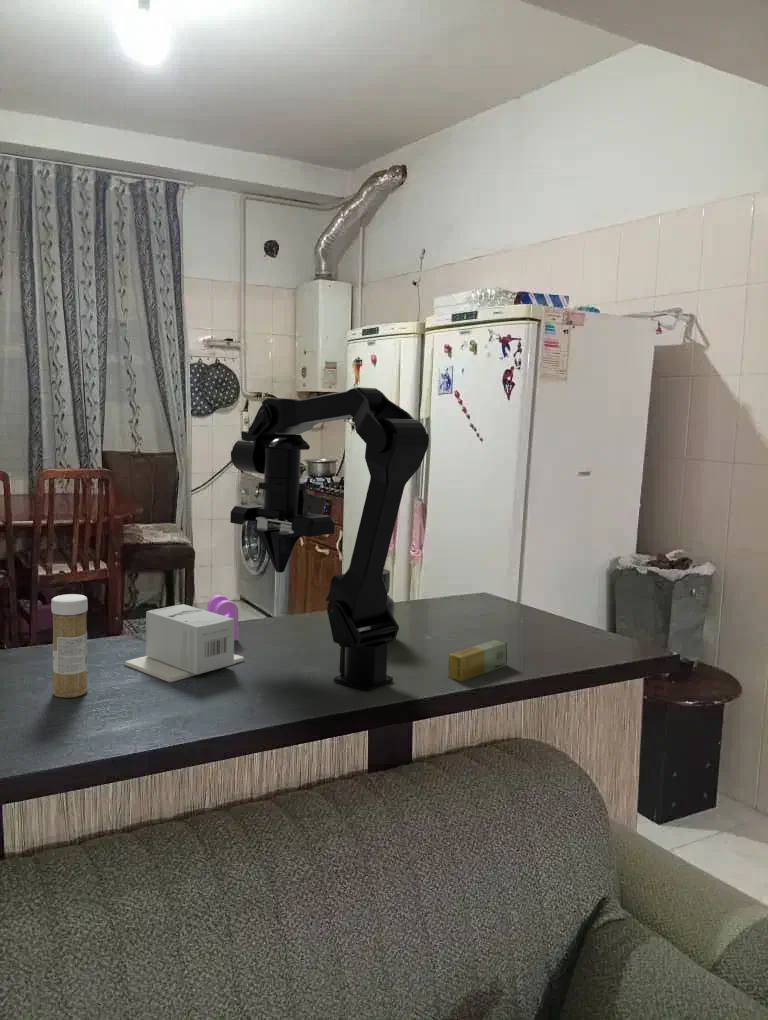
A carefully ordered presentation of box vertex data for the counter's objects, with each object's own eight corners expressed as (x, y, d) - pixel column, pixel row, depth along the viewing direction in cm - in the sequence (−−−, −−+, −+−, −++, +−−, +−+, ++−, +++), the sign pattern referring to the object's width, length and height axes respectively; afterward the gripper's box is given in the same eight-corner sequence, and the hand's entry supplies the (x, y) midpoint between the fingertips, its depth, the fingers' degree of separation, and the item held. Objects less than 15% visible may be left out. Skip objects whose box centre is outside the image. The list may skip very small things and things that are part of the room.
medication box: (494, 662, 132) (495, 638, 132) (507, 666, 131) (508, 642, 130) (447, 678, 124) (447, 652, 123) (460, 682, 122) (461, 656, 121)
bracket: (227, 632, 143) (228, 593, 142) (237, 640, 138) (238, 601, 138) (153, 640, 137) (153, 599, 136) (161, 649, 132) (161, 607, 131)
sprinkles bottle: (58, 687, 113) (57, 592, 111) (92, 687, 113) (91, 593, 112) (48, 699, 108) (46, 600, 107) (83, 699, 109) (82, 601, 107)
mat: (243, 660, 127) (243, 657, 127) (169, 682, 117) (170, 678, 117) (198, 645, 134) (198, 642, 134) (125, 664, 123) (125, 661, 123)
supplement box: (196, 626, 117) (143, 610, 125) (196, 676, 118) (144, 657, 126) (235, 617, 123) (183, 602, 130) (235, 664, 124) (183, 647, 131)
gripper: (359, 479, 131) (355, 574, 133) (277, 470, 142) (276, 557, 144) (311, 483, 122) (308, 584, 124) (228, 472, 134) (227, 565, 136)
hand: (280, 572), depth 132 cm, fingers closed
